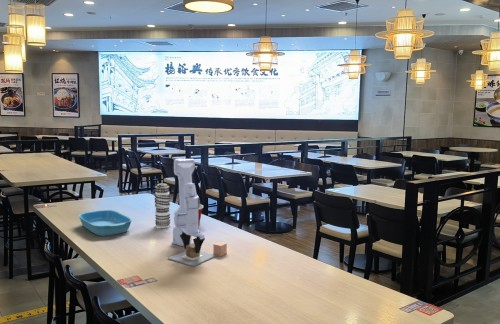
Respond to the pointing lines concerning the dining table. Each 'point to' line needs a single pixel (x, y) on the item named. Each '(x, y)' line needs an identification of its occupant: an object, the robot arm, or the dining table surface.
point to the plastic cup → (199, 213)
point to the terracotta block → (219, 248)
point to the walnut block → (191, 251)
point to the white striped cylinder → (162, 206)
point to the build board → (192, 261)
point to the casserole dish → (105, 222)
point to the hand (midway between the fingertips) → (192, 250)
